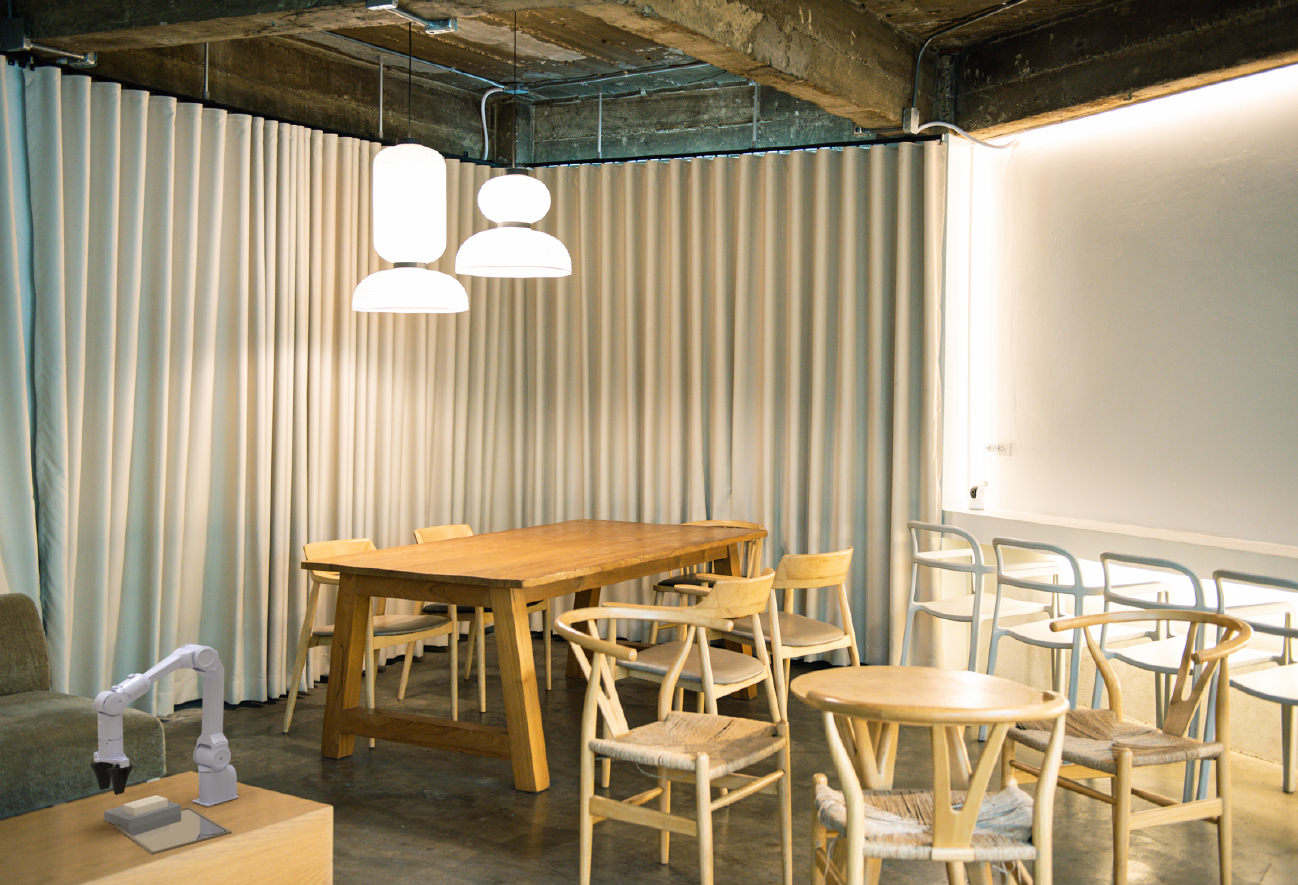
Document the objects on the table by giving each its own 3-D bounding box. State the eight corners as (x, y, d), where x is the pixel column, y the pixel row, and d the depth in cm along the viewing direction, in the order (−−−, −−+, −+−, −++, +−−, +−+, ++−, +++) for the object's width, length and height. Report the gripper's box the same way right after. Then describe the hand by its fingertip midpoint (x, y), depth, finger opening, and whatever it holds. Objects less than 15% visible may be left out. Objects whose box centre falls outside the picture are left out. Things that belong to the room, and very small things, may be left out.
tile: (156, 802, 286) (156, 795, 286) (167, 806, 283) (167, 798, 283) (123, 811, 279) (122, 804, 279) (134, 816, 276) (134, 808, 276)
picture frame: (114, 829, 275) (152, 856, 254) (114, 825, 275) (152, 852, 254) (189, 810, 288) (231, 835, 268) (189, 806, 288) (231, 831, 268)
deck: (155, 805, 291) (155, 796, 291) (181, 814, 284) (180, 804, 284) (104, 820, 280) (104, 811, 280) (129, 829, 272) (128, 820, 272)
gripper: (81, 738, 274) (82, 790, 274) (108, 745, 265) (110, 800, 265) (108, 731, 279) (109, 783, 279) (136, 739, 271) (138, 792, 271)
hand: (111, 791), depth 273 cm, fingers open, 7 cm apart
